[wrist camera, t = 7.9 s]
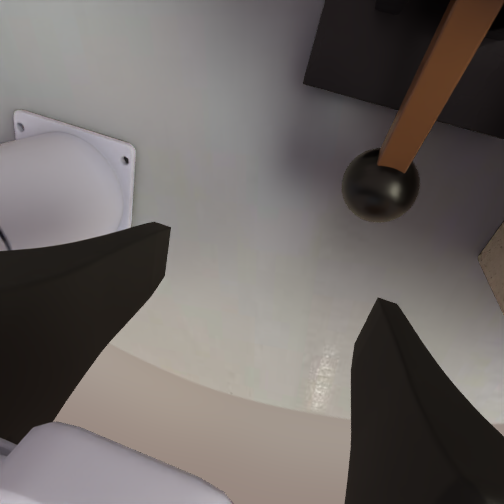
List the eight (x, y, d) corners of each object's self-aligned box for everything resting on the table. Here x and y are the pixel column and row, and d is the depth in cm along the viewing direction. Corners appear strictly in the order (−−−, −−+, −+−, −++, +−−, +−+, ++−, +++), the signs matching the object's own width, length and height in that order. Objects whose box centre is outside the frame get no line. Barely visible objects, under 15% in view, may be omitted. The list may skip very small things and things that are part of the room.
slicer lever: (403, 196, 17) (396, 246, 15) (340, 177, 17) (326, 223, 16) (664, -222, 7) (723, -212, 6) (506, -247, 8) (517, -244, 6)
